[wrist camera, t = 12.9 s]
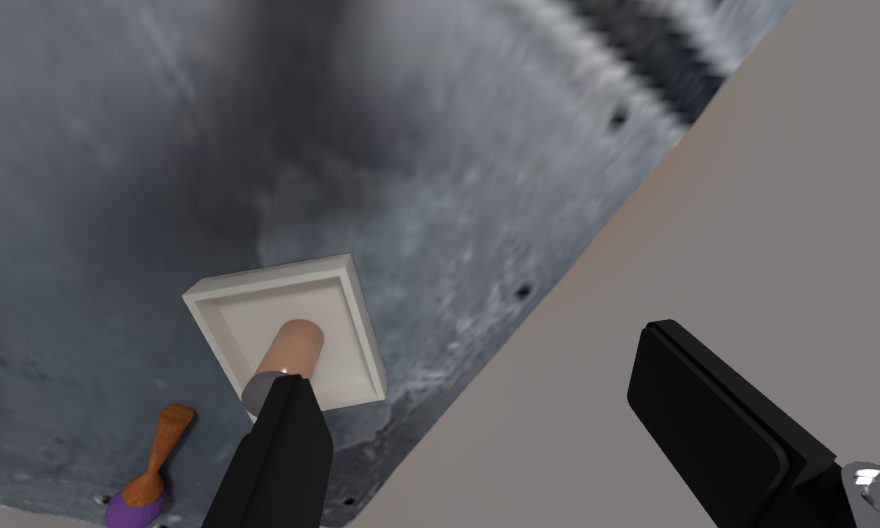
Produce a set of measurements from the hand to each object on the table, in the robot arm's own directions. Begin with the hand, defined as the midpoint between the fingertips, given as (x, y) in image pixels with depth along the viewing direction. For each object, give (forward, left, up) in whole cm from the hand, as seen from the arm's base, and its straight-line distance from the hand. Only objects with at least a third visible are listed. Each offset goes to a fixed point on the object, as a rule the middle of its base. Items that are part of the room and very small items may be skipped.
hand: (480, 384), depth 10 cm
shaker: (+14, -17, -25) cm, 33 cm away
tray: (+14, -17, -26) cm, 34 cm away
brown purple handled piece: (+29, -40, -26) cm, 57 cm away
